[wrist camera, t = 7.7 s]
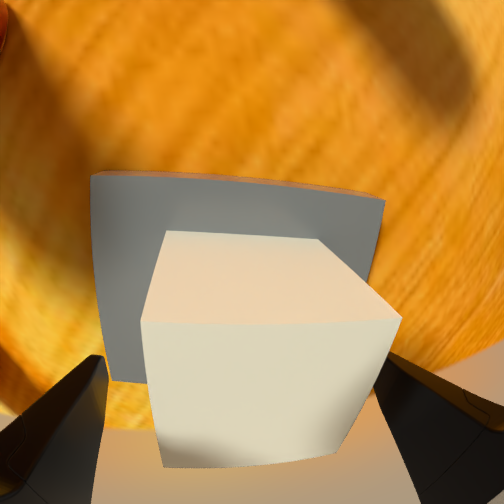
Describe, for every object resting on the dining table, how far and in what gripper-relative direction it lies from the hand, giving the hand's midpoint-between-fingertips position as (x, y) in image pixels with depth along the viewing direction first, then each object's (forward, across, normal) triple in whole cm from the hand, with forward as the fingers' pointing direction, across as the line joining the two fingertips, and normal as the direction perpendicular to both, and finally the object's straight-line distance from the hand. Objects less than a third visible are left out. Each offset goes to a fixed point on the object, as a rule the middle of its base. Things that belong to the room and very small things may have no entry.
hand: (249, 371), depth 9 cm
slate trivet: (+6, 0, 0) cm, 6 cm away
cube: (+4, 0, 0) cm, 4 cm away
